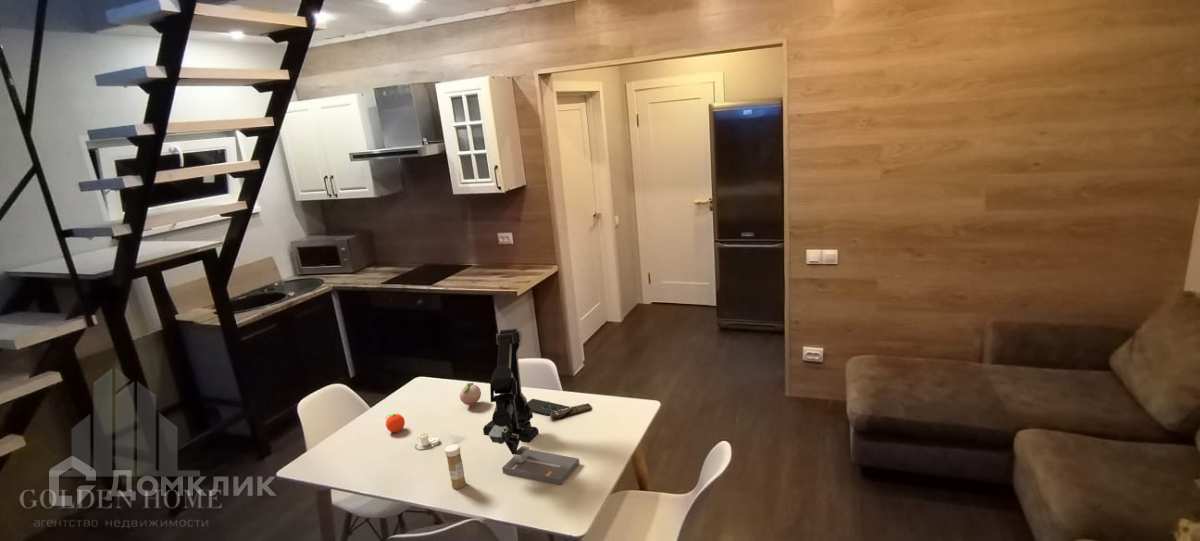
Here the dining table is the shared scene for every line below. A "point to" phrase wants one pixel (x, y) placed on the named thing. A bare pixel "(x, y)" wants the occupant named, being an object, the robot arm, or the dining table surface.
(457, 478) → the sprinkles bottle
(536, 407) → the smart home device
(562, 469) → the board
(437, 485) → the dining table surface
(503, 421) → the robot arm
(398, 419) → the clementine
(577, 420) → the dining table surface
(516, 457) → the fader tab
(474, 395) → the decorative fruit
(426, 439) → the white charger with cable
